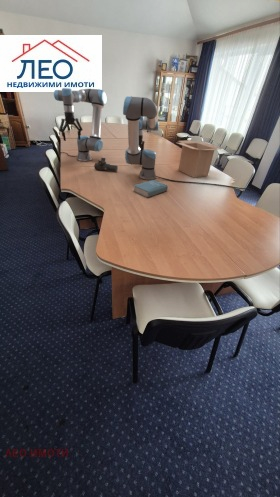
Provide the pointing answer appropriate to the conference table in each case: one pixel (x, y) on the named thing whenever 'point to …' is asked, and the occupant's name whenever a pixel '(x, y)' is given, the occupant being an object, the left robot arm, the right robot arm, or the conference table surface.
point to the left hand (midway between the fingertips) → (72, 140)
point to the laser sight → (105, 166)
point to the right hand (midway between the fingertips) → (137, 159)
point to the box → (196, 158)
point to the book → (150, 188)
